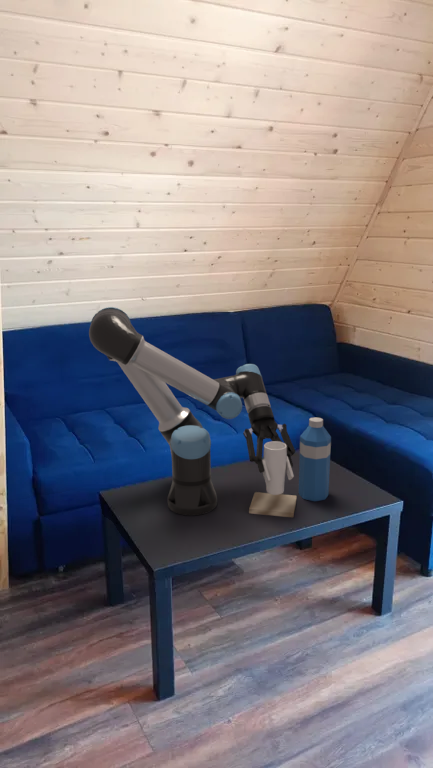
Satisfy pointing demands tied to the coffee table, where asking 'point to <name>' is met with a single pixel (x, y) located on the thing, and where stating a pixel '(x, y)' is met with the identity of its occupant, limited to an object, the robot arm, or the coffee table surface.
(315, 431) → the water bottle
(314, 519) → the coffee table surface
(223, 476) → the coffee table surface
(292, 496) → the birch board
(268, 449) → the drinking glass
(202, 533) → the coffee table surface
